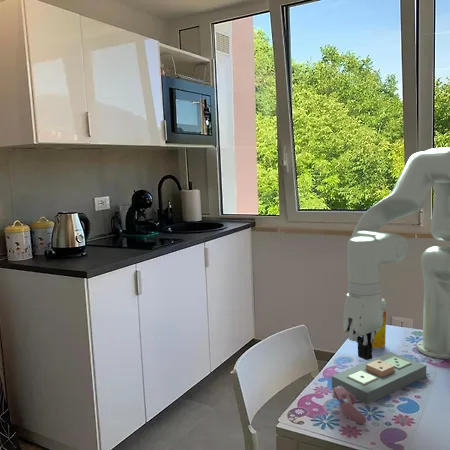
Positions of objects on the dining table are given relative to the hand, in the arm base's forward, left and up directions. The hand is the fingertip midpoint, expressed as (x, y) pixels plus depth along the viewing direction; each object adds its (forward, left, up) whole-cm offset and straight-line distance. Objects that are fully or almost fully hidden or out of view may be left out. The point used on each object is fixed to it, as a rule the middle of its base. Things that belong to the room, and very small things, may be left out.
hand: (365, 357), depth 116 cm
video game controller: (+13, +5, -9) cm, 16 cm away
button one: (+1, 0, -8) cm, 8 cm away
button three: (-13, 0, -8) cm, 15 cm away
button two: (-6, 0, -7) cm, 9 cm away
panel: (-6, 0, -8) cm, 10 cm away
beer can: (-24, -15, -8) cm, 30 cm away
